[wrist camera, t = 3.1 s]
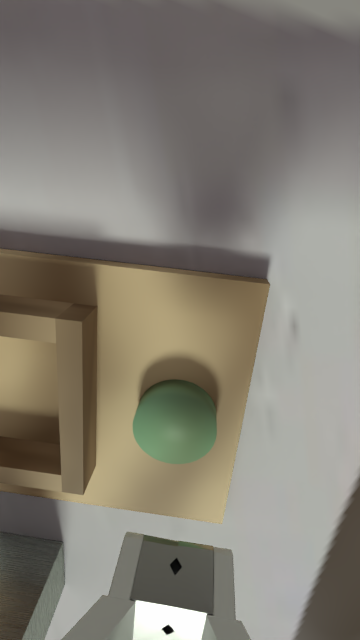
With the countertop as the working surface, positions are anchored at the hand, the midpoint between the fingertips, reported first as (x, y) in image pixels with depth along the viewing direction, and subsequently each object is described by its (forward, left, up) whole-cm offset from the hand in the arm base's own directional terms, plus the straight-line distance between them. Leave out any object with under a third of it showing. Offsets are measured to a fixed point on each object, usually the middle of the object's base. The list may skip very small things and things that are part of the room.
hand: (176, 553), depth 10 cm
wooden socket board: (-7, 0, -7) cm, 10 cm away
